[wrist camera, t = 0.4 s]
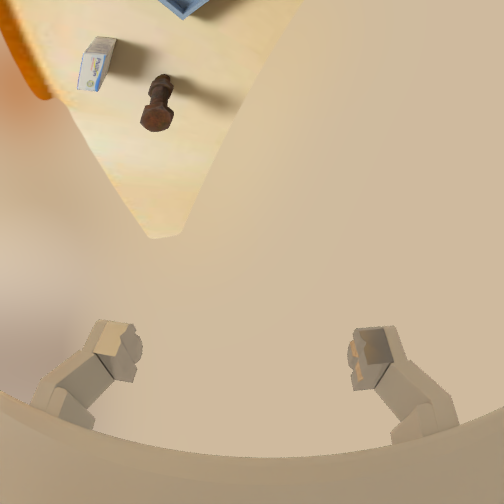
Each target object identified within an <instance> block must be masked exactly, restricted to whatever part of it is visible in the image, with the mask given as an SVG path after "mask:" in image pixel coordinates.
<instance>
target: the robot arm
mask: <svg viewBox="0 0 504 504" xmlns="http://www.w3.org/2000/svg"><path fill="white" fill-rule="evenodd" d="M135 331H136V329H135V327H134V325H133V324H128V323H121V322H114V321H108V320H100V319H99V320H98V321H96V323H95V325H94V327H93V329H92V331H91V333H90V335H89V337H88V339H87V341H86V343H85V345H84V347H83V349H82V351H80V350H79V351H77V352H76V353H75V354H73V355H72V356H71V357H69V358H68V359H67V360H65V361H64V362H63V363H61V364H60V365H59V366H58V367H56V368H55V369H54V370H52V371H51V372H50V373H48V374H47V375H46V376H44V377H43V378H42V379H40V382H39V384H38V386H37V388H36V391H35V393H34V395H33V398H32V400H31V403H30V405H28V404H26V403H24V402H22V401H20V400H18V399H16V398H14V397H12V396H10V395H8V394H6V393H5V392H3V391H1V390H0V504H504V407H502V408H500V409H497V410H495V411H493V412H491V413H489V414H486V415H484V416H482V417H479V418H477V419H474V420H472V421H469V422H467V423H464V424H462V425H459V421H458V418H457V414H456V411H455V408H454V404H453V401H452V398H451V396H450V395H449V394H448V393H447V392H446V391H445V390H444V389H443V388H441V387H440V386H439V385H438V384H437V383H436V382H435V381H434V380H432V379H431V378H430V377H429V376H428V375H427V374H426V373H424V371H422V370H421V369H420V368H419V367H418V366H417V365H415V364H414V363H413V362H412V361H411V360H410V361H407V358H406V355H405V352H404V349H403V346H402V344H401V341H400V338H399V335H398V332H397V330H396V328H395V327H394V326H384V327H368V328H357V329H355V330H354V333H353V338H354V340H352V341H351V342H350V344H349V347H348V354H347V355H348V364H349V366H350V367H351V368H352V369H353V372H352V374H351V380H352V385H353V390H354V391H357V390H367V389H374V390H375V391H376V393H377V394H378V395H379V396H380V397H381V399H382V400H383V401H384V402H385V403H386V405H387V406H388V407H389V408H390V409H391V410H392V412H393V413H394V414H395V415H396V417H397V418H398V419H399V420H400V421H401V423H400V424H398V425H397V426H396V427H395V428H394V429H393V430H392V431H391V433H390V434H391V440H392V445H389V446H384V447H379V448H374V449H368V450H362V451H355V452H348V453H341V454H332V455H322V456H309V457H288V458H252V457H251V458H250V457H231V456H230V457H229V456H218V455H208V454H199V453H191V452H184V451H178V450H171V449H166V448H160V447H155V446H150V445H145V444H141V443H137V442H132V441H128V440H125V439H121V438H117V437H113V436H110V435H106V434H103V433H99V432H96V431H93V430H92V429H93V426H94V422H95V418H94V416H93V415H92V414H90V413H89V412H88V411H87V409H88V407H89V406H90V405H91V404H92V403H93V402H94V401H95V400H96V399H97V398H98V397H99V396H100V395H101V394H102V393H103V392H104V391H105V390H106V389H107V388H108V387H109V386H110V385H111V384H112V383H113V382H114V380H119V381H125V382H133V380H134V377H135V374H136V371H137V367H136V365H135V363H137V362H138V361H139V360H140V358H141V355H142V347H143V346H142V341H141V339H140V337H139V336H138V335H136V334H135Z"/></svg>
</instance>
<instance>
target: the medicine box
mask: <svg viewBox="0 0 504 504" xmlns="http://www.w3.org/2000/svg"><path fill="white" fill-rule="evenodd" d="M116 40H117V39H113V38H104V37H96V38H95V39H94V40H93V42H92V43H91V44H90V45H89V47H88V48H87V49H86V50H85V52H84V53H83V58H82V63H81V68H80V74H79V80H78V86H77V89H79V90H88V91H96V92H98V91H99V89H100V87H101V85H102V83H103V81H104V79H105V77H106V75H107V72H108V69H109V65H110V61H111V57H112V53H113V50H114V46H115V43H116Z"/></svg>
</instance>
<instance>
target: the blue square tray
mask: <svg viewBox="0 0 504 504" xmlns="http://www.w3.org/2000/svg"><path fill="white" fill-rule="evenodd" d="M158 1H160V2H161V3H162V4H163V5H165V6H166V7H167V8H168V9H170V10H171V11H172V12H173V13H175V14H176V15H177V16H178V17H179V18H180V19H182V20H184V19H185V18H186V17H188V16H189V15H190V14H191V13H193V12H194V11H195V10H197V9H198V8H199V7H201V6H202V5H204V4H205V3H206V2H208V1H209V0H158Z"/></svg>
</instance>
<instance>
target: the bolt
mask: <svg viewBox="0 0 504 504" xmlns="http://www.w3.org/2000/svg"><path fill="white" fill-rule="evenodd" d="M173 87H174V86H173V85H172V83H171V82H170V78H169V76H167V75H165V74H161V75H160V76H158V77H157V78H156V79H155V80H154V81H152V84H151V86H150V89H149V92H148V95H149V96H150V97H151V101H150V105H146V106H145V108H144V111H143V114H142V117H141V121H140V123H141V124H142V125H143V126H144V127H145V128H146V129H147V130H149V131H151V132H159V131H163V130H165V129H168V128H169V126H170V124H171V122H172V119H173V116H174V112H173V111H172V110H171V109H170V108H169V107H168V106H167V103H168V99H169V98H170V96H171V93H172V91H173Z"/></svg>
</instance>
